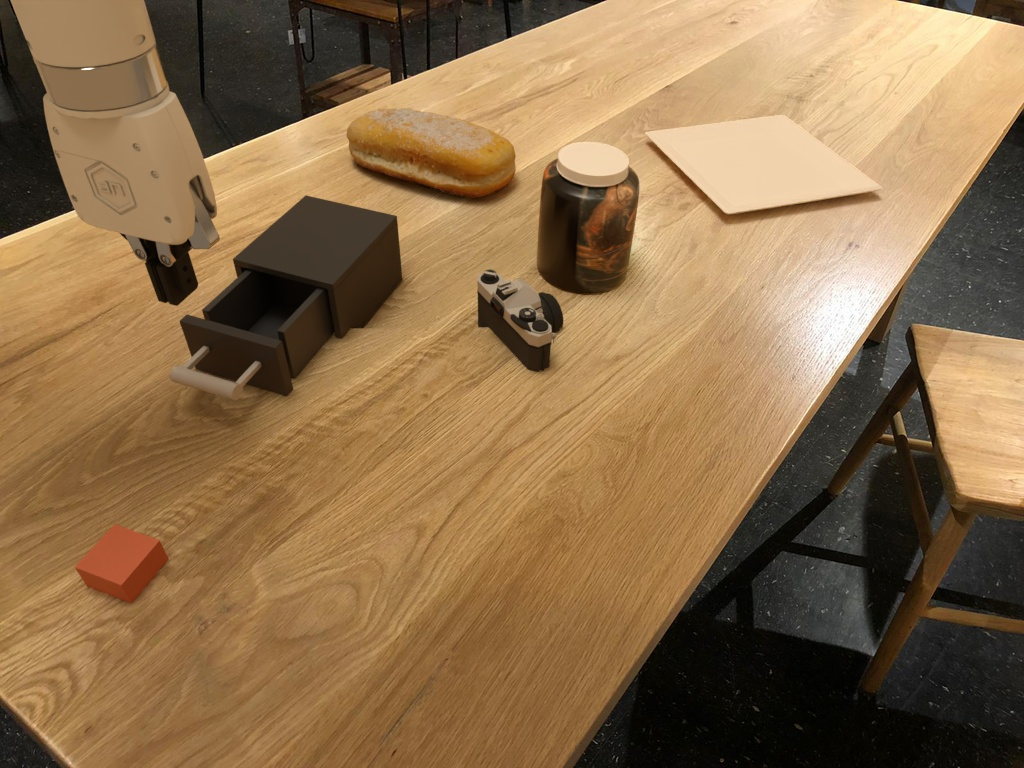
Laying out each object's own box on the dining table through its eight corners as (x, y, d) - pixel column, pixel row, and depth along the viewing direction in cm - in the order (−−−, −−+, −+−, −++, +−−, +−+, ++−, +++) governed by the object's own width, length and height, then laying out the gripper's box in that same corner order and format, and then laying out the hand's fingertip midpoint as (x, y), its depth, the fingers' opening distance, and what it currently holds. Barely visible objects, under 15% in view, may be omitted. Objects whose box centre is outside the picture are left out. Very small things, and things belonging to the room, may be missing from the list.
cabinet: (343, 351, 84) (332, 284, 78) (250, 325, 87) (232, 258, 81) (402, 280, 94) (397, 215, 88) (316, 259, 97) (305, 195, 91)
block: (138, 615, 61) (120, 585, 58) (94, 597, 62) (74, 567, 59) (175, 571, 64) (159, 540, 61) (131, 554, 65) (114, 523, 62)
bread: (487, 215, 106) (488, 161, 101) (331, 170, 114) (323, 119, 109) (529, 174, 115) (531, 123, 110) (380, 135, 123) (376, 86, 118)
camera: (590, 365, 84) (595, 295, 78) (532, 391, 80) (533, 320, 75) (522, 311, 92) (522, 244, 87) (467, 332, 89) (463, 264, 83)
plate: (780, 124, 130) (784, 112, 129) (879, 199, 112) (884, 186, 111) (642, 142, 124) (644, 130, 122) (723, 225, 106) (726, 212, 104)
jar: (522, 280, 95) (527, 169, 85) (553, 234, 103) (561, 127, 93) (613, 303, 92) (630, 191, 82) (638, 254, 100) (656, 146, 90)
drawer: (260, 436, 74) (244, 381, 69) (166, 407, 76) (144, 351, 71) (354, 325, 86) (346, 271, 81) (270, 303, 89) (258, 249, 84)
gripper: (-28, 78, 51) (74, 300, 63) (162, 115, 47) (230, 342, 60) (56, 41, 56) (135, 253, 68) (232, 72, 53) (281, 289, 65)
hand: (179, 294), depth 64 cm, fingers closed
